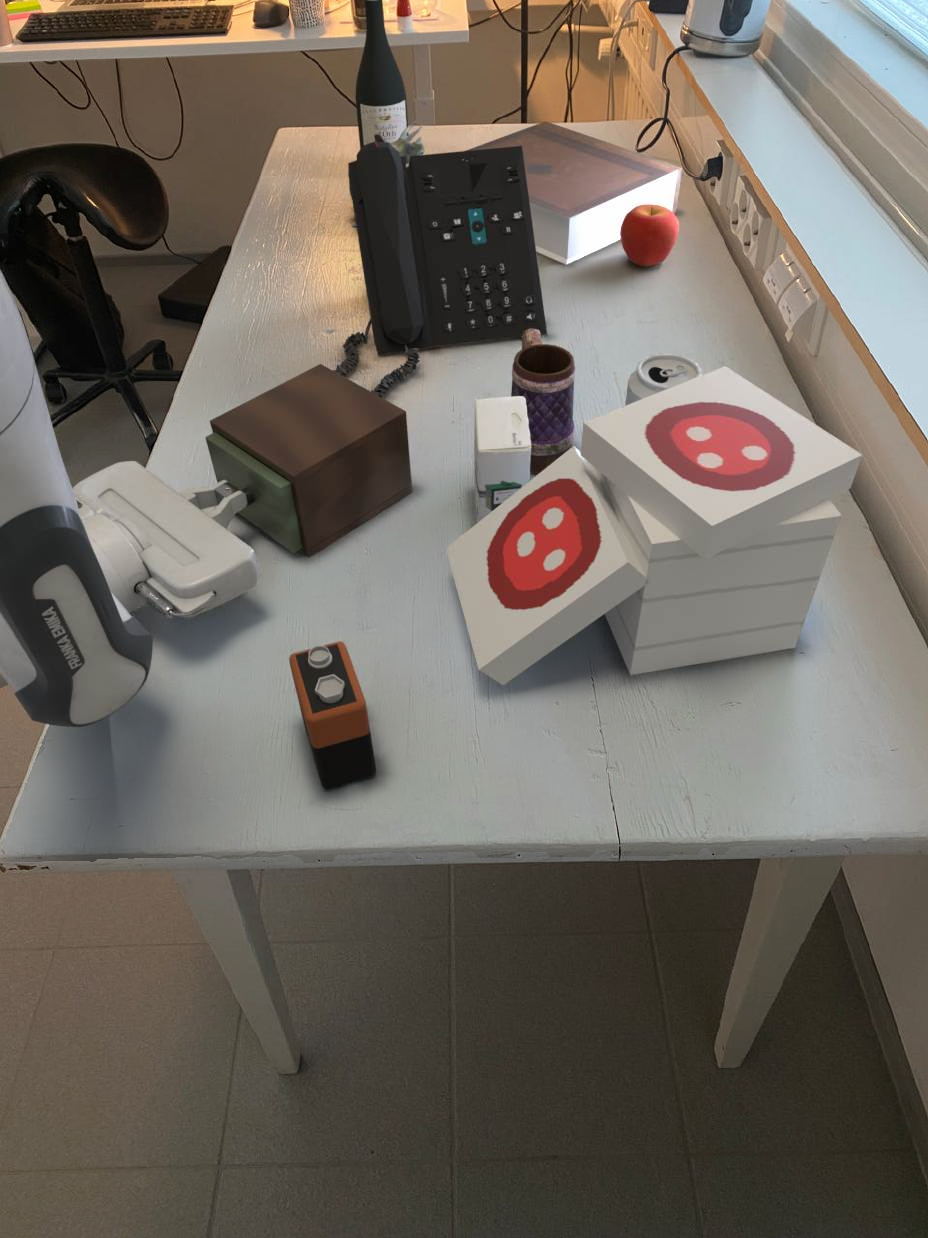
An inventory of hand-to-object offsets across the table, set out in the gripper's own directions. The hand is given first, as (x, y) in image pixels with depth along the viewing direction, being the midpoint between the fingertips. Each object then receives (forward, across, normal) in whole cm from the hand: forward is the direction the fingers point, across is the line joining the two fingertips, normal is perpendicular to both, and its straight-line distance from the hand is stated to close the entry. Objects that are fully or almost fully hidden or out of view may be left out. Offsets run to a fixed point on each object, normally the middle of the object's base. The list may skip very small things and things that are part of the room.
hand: (237, 491), depth 87 cm
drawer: (+7, 0, +5) cm, 9 cm away
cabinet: (+9, 0, +6) cm, 11 cm away
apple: (+74, +7, +7) cm, 75 cm away
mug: (+31, -11, +6) cm, 33 cm away
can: (+36, -22, +6) cm, 43 cm away
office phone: (+39, +14, +6) cm, 42 cm away
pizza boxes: (+17, -33, +6) cm, 38 cm away
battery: (-10, -26, +6) cm, 29 cm away
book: (+79, +28, +7) cm, 84 cm away
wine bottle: (+72, +58, +6) cm, 93 cm away
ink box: (+19, -16, +6) cm, 26 cm away
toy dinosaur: (+58, +46, +6) cm, 74 cm away
